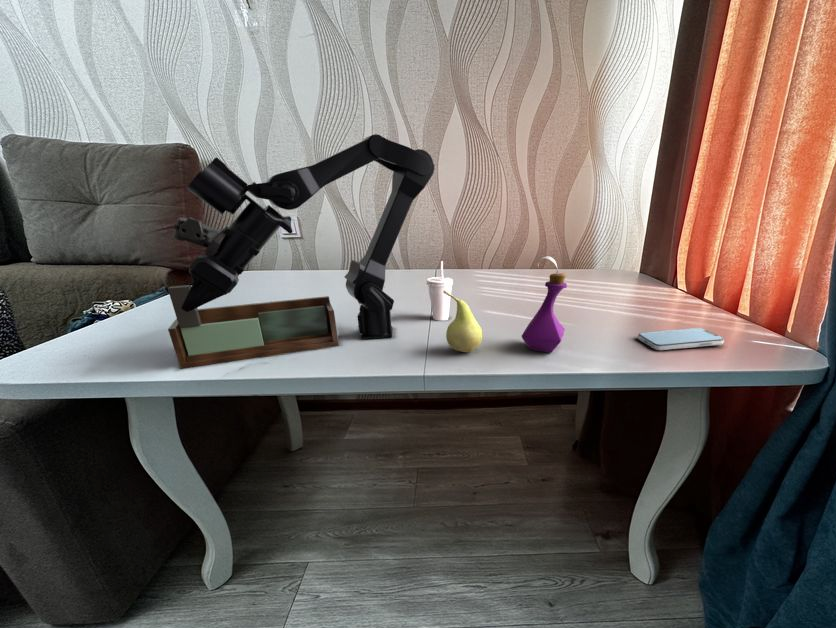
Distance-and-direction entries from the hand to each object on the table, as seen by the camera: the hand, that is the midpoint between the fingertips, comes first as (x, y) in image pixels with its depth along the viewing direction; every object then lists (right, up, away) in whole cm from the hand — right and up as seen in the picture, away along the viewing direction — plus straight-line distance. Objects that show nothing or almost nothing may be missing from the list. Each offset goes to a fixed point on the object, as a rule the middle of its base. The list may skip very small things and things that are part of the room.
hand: (189, 303), depth 65 cm
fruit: (+47, -8, +9) cm, 49 cm away
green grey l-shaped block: (+3, -9, +5) cm, 11 cm away
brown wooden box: (+8, -8, +10) cm, 15 cm away
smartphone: (+92, -7, +14) cm, 93 cm away
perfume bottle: (+63, -8, +11) cm, 64 cm away
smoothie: (+41, 0, +29) cm, 50 cm away
